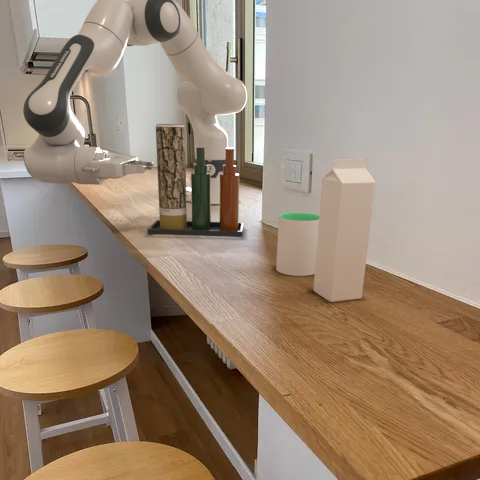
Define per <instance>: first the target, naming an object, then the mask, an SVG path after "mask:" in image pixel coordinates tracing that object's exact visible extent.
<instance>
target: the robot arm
mask: <svg viewBox="0 0 480 480" xmlns="http://www.w3.org/2000/svg"><path fill="white" fill-rule="evenodd" d="M158 43H159V44H160V46H161V48H162V50H163V51H164V53H165V55H166V57H167V58H168V60H169V61H170V63H171V65H172V66H173V68H174V70H175V71H176V73H177V75H178V76H179V77H180V78H182V79H183V80H184V81H182V82H181V83H180V84H179V86H178V88H177V92H176V98H177V103H178V106H179V107H180V109H181V110H182V111H183V112H184V113H185V114H186V116H187V118H188V120H189V121H190V124H191V125H190V126H191V128H192V132H193V139H194V158H193V163H192V165H193V166H194V165H197V155H196V148H197V147H204V148H205V165H207V173H210V174H211V205H220V174H222V173H223V165H225V163H226V148H229V137H228V133H227V132H226V131H225V130H224V129H223V128H222V127H221V126H220V124H219V122H218V119H217V116H228V115H232V114H236V113H240V112H241V111H242V110H243V109H244V108H245V106H246V105H247V104H246V103H247V100H248V93H247V88H246V86H245V84H244V83H243V81H242V80H240V79H239V78H237V77H235V76H233V75H231V74H230V73H229V72H228V71H226V70H225V68H223V67H222V66H221V65H220V64H219V63H218V62H217V61H216V60H215V59H214V58H213V56H212V55H211V53H210V52H209V50H208V48H207V47H206V45H205V43H204V42H203V40H202V37H201V35H200V34H199V32H198V30H197V28H196V26H195V25H194V23H193V21H192V20H191V18H190V17H189V15H188V14H187V12H186V11H185V9H184V8H183V7H182V6H181V4H180V3H178V2H177V1H175V0H96V2H95V3H94V4H93V6H92V7H91V8H90V11H89V12H88V13H87V16H86V17H85V19H84V21H83V24H82V25H81V28H80V30H79V31H78V33H77V34H76V35H73V36H72V37H70V38H69V39H68V40H67V41H66V43H65V45H63V47H62V49H61V51H60V52H59V53H58V55H57V56H56V58H55V60H54V61H53V63H52V65H51V67H50V68H49V70H48V71H47V73H46V74H45V76H44V77H43V79H42V81H41V82H40V83H39V84H38V85H37V86H36V87H35V88H34V89H33V90H32V91H31V92H30V93H29V94H28V96H27V97H26V99H25V101H24V103H23V109H22V111H23V117H24V120H25V121H26V123H27V125H28V126H29V127H30V128H32V130H34V131H35V132H36V133H37V134H38V136H37V138H36V139H35V141H34V142H32V144H31V145H30V146H28V147H26V148H25V149H24V151H23V163H24V166H25V169H26V171H27V173H28V174H29V175H30V177H31V178H33V179H34V180H35V181H38V182H41V183H48V184H61V185H66V184H69V183H75V184H78V185H93V186H95V185H98V186H99V185H102V184H103V183H104V181H107V180H109V179H114V180H117V179H122V178H124V177H126V176H128V175H135V174H144V173H145V174H146V171H147V170H153V169H154V162H153V161H146V160H139V156H136V155H131V154H124V153H115V152H109V150H106V149H102V148H100V147H99V146H85V142H86V131H85V128H84V126H83V124H82V123H81V121H80V119H79V118H78V116H77V115H76V114H75V113H74V110H73V109H72V108H71V102H70V101H71V94H72V92H73V91H74V89H75V88H76V85H77V84H78V82H79V80H80V79H81V77H82V75H83V74H84V72H86V71H88V72H89V73H91V74H92V73H93V74H96V75H107V74H110V73H112V72H113V71H114V70H115V69H116V68H117V67H118V65H119V63H120V61H121V60H122V57H123V55H124V52H125V50H126V47H133V46H139V47H141V46H142V47H143V46H150V45H153V44H158ZM188 185H189V186H186V192H187V191H188V192H189V193H188V195H187V196H186V202H190V203H191V175H189V183H188Z"/></svg>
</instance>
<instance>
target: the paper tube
mask: <svg viewBox="0 0 480 480" xmlns="http://www.w3.org/2000/svg"><path fill="white" fill-rule="evenodd" d="M155 143H156V166H157V167H156V168H157V189H158V192H157V193H158V212H159V220H160V228H161V229H179V230H185V229H186V228H187V221H188V220H187V218H188V216H187V213H188V212H187V209H188V208H187V201H186V197H187V190H186V187H187V164H186V127H185V124H183V123H180V124H179V123H156V124H155Z"/></svg>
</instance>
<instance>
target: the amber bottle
mask: <svg viewBox="0 0 480 480" xmlns="http://www.w3.org/2000/svg"><path fill="white" fill-rule="evenodd" d="M218 212H219V213H218V214H219V215H218V216H219V217H218V218H219V221H218V222H219V231H238V223H239V219H240V218H239V216H240V214H239V212H240V174H239V173H237V165H236V164H235V148H234V147H228V148H226V163H225V165H223V173H222V174H220V204H219V211H218Z"/></svg>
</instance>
